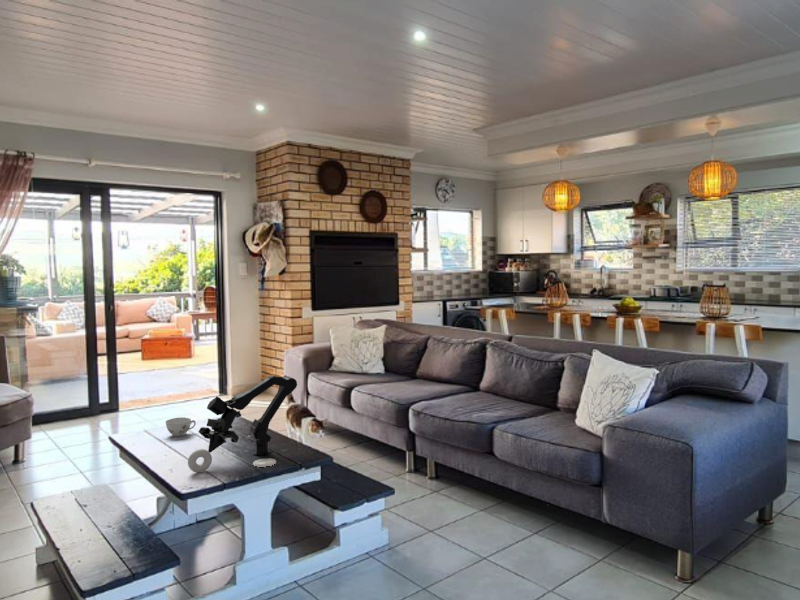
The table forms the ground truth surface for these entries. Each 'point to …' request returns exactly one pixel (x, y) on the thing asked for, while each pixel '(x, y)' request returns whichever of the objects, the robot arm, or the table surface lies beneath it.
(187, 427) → the teacup
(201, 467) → the donut
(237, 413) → the robot arm
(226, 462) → the table surface
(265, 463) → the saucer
